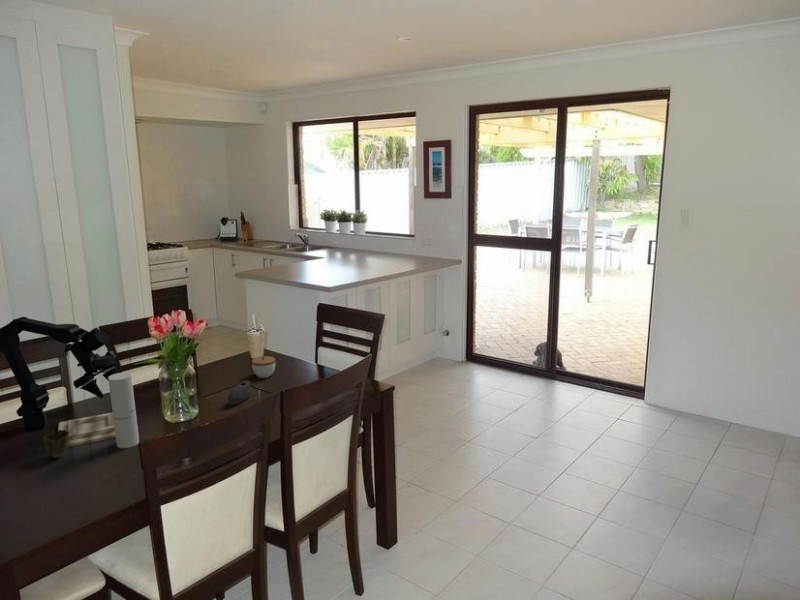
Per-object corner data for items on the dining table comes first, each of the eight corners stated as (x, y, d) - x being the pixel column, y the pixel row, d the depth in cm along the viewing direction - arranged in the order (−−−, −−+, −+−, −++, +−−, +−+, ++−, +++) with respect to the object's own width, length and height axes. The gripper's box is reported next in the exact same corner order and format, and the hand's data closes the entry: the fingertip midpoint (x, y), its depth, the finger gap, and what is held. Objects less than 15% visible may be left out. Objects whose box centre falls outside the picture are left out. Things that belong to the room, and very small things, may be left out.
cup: (45, 463, 185) (41, 441, 183) (46, 454, 191) (43, 432, 189) (71, 458, 188) (68, 436, 186) (72, 449, 195) (69, 427, 193)
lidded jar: (273, 379, 258) (272, 360, 256) (249, 379, 259) (248, 360, 257) (278, 371, 269) (277, 352, 267) (256, 371, 269) (254, 352, 267)
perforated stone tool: (234, 409, 227) (232, 393, 225) (223, 407, 228) (221, 391, 227) (255, 395, 241) (254, 380, 239) (245, 394, 242) (243, 378, 241)
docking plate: (56, 449, 194) (55, 442, 194) (59, 424, 213) (58, 418, 213) (127, 435, 204) (126, 428, 204) (124, 413, 223) (123, 407, 223)
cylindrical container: (143, 440, 201) (136, 373, 195) (128, 449, 194) (119, 380, 188) (127, 437, 203) (119, 371, 197) (112, 446, 196) (103, 378, 191)
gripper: (85, 355, 192) (111, 393, 195) (117, 338, 210) (141, 373, 213) (61, 369, 195) (87, 406, 197) (95, 351, 213) (119, 386, 215)
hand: (110, 392), depth 205 cm, fingers open, 9 cm apart
